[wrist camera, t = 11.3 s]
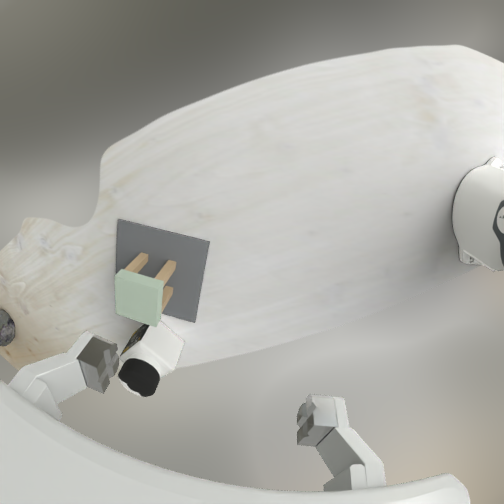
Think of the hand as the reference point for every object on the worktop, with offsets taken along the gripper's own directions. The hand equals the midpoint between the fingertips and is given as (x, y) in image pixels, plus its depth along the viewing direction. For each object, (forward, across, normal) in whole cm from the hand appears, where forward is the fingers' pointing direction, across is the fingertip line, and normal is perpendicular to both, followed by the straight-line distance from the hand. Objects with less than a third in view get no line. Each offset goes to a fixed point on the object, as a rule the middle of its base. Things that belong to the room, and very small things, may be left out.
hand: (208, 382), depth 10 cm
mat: (+27, +12, +13) cm, 32 cm away
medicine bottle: (+27, +11, +26) cm, 39 cm away
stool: (+26, +12, +13) cm, 32 cm away
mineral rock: (+25, +60, +45) cm, 79 cm away
